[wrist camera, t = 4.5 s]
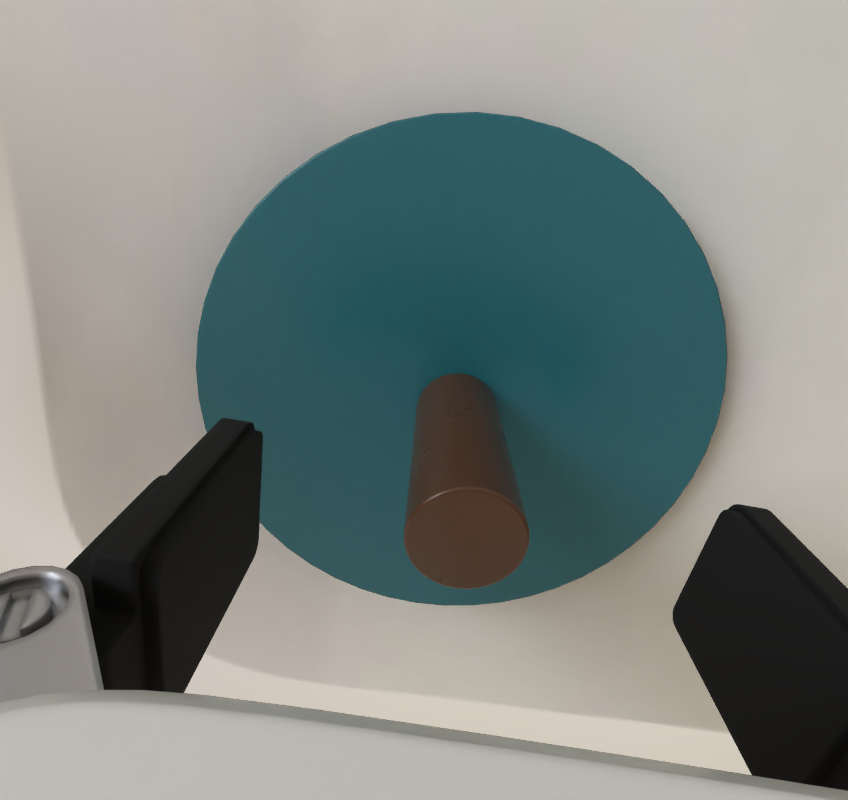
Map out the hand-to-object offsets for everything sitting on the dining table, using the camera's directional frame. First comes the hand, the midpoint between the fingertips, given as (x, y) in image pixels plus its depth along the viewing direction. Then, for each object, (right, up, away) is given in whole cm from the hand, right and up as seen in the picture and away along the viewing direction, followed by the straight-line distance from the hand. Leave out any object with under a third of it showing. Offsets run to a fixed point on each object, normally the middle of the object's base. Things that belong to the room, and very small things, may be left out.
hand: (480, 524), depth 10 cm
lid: (0, +2, +5) cm, 6 cm away
